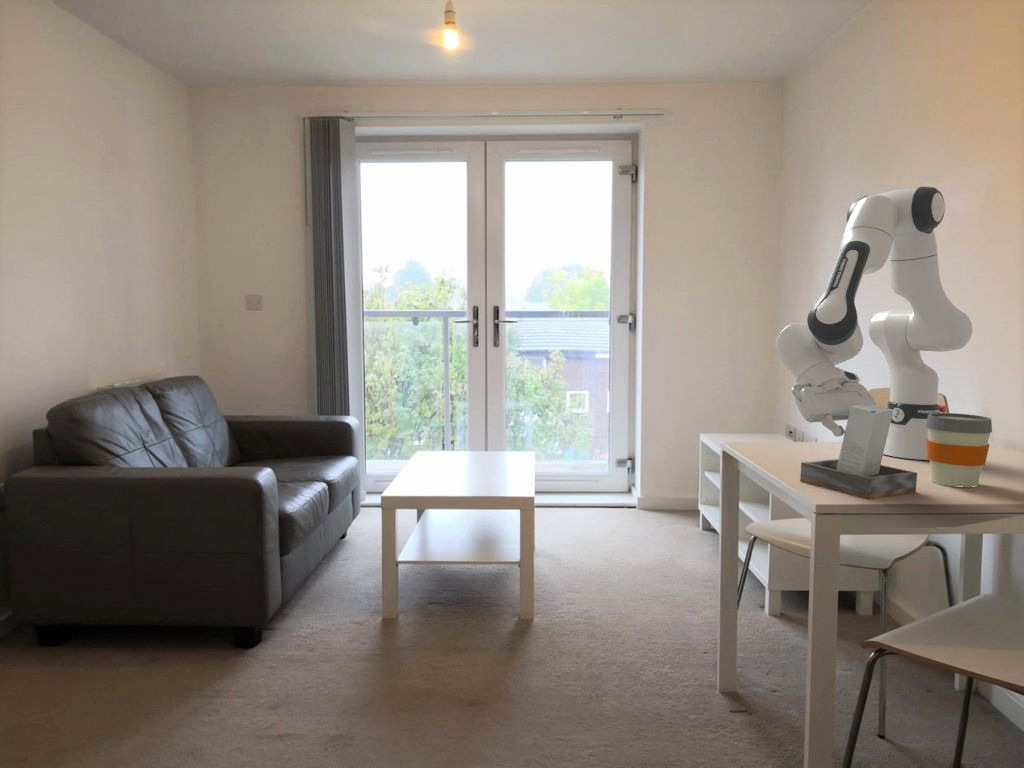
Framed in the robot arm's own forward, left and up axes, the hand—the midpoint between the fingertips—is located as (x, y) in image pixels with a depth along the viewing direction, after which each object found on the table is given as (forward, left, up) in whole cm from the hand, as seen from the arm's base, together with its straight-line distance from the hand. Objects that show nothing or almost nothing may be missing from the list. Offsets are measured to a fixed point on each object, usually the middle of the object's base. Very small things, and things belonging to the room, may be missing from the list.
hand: (856, 433), depth 158 cm
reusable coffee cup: (-24, +7, -12) cm, 28 cm away
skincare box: (0, +1, -9) cm, 9 cm away
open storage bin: (0, +1, -11) cm, 12 cm away
